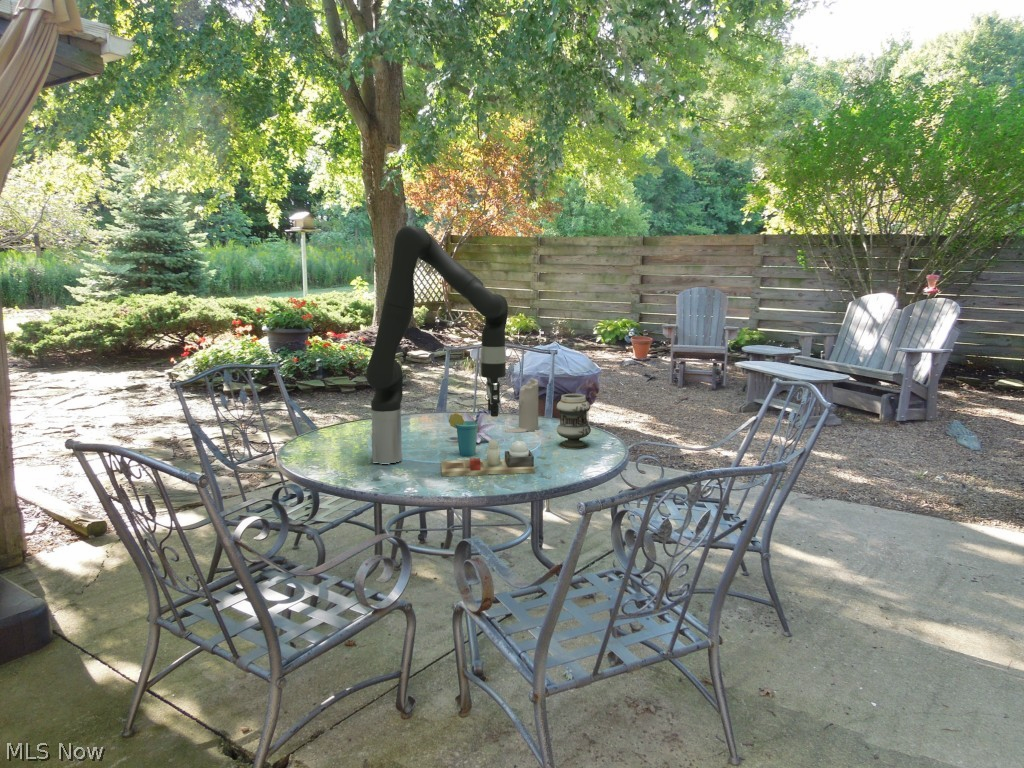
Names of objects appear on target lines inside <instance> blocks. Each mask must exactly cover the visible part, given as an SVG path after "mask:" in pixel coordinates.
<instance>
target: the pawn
mask: <svg viewBox="0 0 1024 768" xmlns="http://www.w3.org/2000/svg"><path fill="white" fill-rule="evenodd" d="M499 445H500V444H499V441H498V440H497V439H495V438H493V439H492V440H490V441H488V444H487V446H488V447H487V448H486V459H487V465H490V466H497V465H500V459H501V448H500V447H499Z"/></svg>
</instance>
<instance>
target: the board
mask: <svg viewBox="0 0 1024 768" xmlns="http://www.w3.org/2000/svg"><path fill="white" fill-rule="evenodd" d="M528 450H529V457H510V456H509V450H505V451H504V458H500V465H497V466H490V465H487V458H486V459H481V458H480V457H470V458H469V459H464V460H463V459H459V460H440V469H441V477H442V476H449V477H468V475H471V476H489V475H488V474H499V475H517V474H516V473H524V474H535V473H536V468H535V461H534V460H535V457H534V454H533V453H532V451H531V450H530V449H528ZM465 475H467V476H465Z"/></svg>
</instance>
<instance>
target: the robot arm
mask: <svg viewBox="0 0 1024 768" xmlns="http://www.w3.org/2000/svg"><path fill="white" fill-rule="evenodd" d="M418 259H419V260H420V261H423V262H425V263H427V264H428V265H429V266H431V267H432V268H433V269H434V270H436V272H437V273H438V274H439V275H440V276H441V277H442V278H443V279H444V281H445V282H446V284H448V285H449V286H450V287H451V288H452V289H454V290H455V291H456V292H457V293H458V294H459V295H460V296H462V297H463V298H465V299H466V300H467V301H468V303H470V305H471V306H472V307H473V308H474V309H475V310H476V311H477V312H478V313H479V314H480V315H482V316H484V317H485V323H484V324H485V325H484V327H483V328H482V331H481V351H480V377H482V378H486V381H485V386H486V390H485V392H486V398H487V411H490V417H491V418H492V417H493V418H497V417H498V416H499V404H500V402H501V401H500V398H501V397H500V396H501V392H500V391H501V390H500V389H501V383H500V381H499V379H500V378H505V376H506V372H507V371H506V369H507V368H506V365H507V364H506V363H507V362H506V361H507V354H506V351H507V350H506V327H507V321H508V316H509V315H508V313H509V306H508V305H509V304H508V301H507V300H506V298H505V297H504V296H503V295H502V294H498V293H496V294H495V293H493V292H491V291H490V290H489V289H487V288H486V287H485V286H484V283H483V281H481V279H480V278H478V277H477V276H476V275H474V274H473V273H472V272H471V271H469V269H467V268H465V267H464V266H463V265H462V264H461V263H459V262H458V261H457V260H455V258H453V257H452V256H451V255H450V254H449V253H447V251H445V250H444V249H443V247H441V245H440V244H439V242H437V241H436V240H435V239H434V238H433V236H432V235H431V234H430V233H429V232H428V231H427V230H426V229H425V228H422V227H420V226H416V225H404V226H403V227H401V228H400V229H399V230H398V232H397V233H396V235H395V238H394V246H393V255H392V262H391V269H390V274H389V279H388V281H387V282H388V283H387V286H386V292H385V297H384V300H383V304H382V309H381V313H380V319H379V324H378V329H377V333H376V337H375V343H374V346H373V349H372V353H371V355H370V359H369V362H368V364H367V368H366V373H365V377H366V381H367V383H368V385H369V387H371V388H372V389H374V390H375V394H374V396H373V398H372V400H371V403H370V408H371V409H370V411H371V456H372V457H371V459H372V460H371V461H372V463H373V462H378V463H395V462H398V461H401V460H402V461H403V450H402V449H403V445H402V442H403V441H402V440H403V439H402V416H401V415H402V413H401V412H402V410H401V409H402V408H401V406H402V405H401V403H402V399H403V384H404V383H403V381H404V380H403V377H404V376H403V375H404V374H403V369H402V366H401V365H400V363H399V361H397V360H396V356H397V351H398V349H399V346H400V344H401V342H402V339H404V336H405V335H406V333H407V331H408V329H409V326H410V323H411V321H412V316H413V312H414V307H415V300H416V294H415V286H414V276H415V270H416V265H417V263H418ZM402 461H401V462H402Z"/></svg>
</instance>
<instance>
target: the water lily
mask: <svg viewBox="0 0 1024 768" xmlns="http://www.w3.org/2000/svg"><path fill="white" fill-rule="evenodd" d="M463 416H464V418H465V419H464V420H465V421H474V422H475V418H474V417H473V416H471V415H470V414H469V413H467V412H464V415H463ZM476 416H477V414H476ZM476 416H475V417H476ZM485 419H486V413H480V415H479V418H478V421H477V423H479V424H478V427H477V439H476V443H478V444H480V443H481V441H482V439H484V440H485V441H487V442H489V441H490V440H492V439H494V438H493V437H492V436H491V435H490V434H488V433H486V431H489V430H492V429H493V428H494V427H496V424H495V423H485V424H484V421H485ZM481 438H482V439H481Z"/></svg>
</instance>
